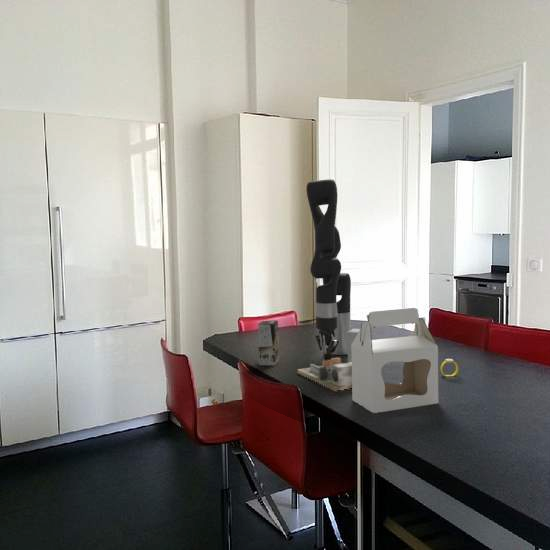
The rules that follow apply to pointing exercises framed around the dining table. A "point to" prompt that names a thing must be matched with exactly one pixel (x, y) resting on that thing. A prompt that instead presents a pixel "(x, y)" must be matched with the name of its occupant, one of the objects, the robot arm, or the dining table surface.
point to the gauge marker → (322, 372)
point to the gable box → (376, 353)
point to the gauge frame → (331, 376)
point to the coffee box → (268, 343)
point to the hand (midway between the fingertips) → (327, 363)
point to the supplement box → (351, 341)
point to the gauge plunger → (331, 363)
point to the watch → (449, 362)
